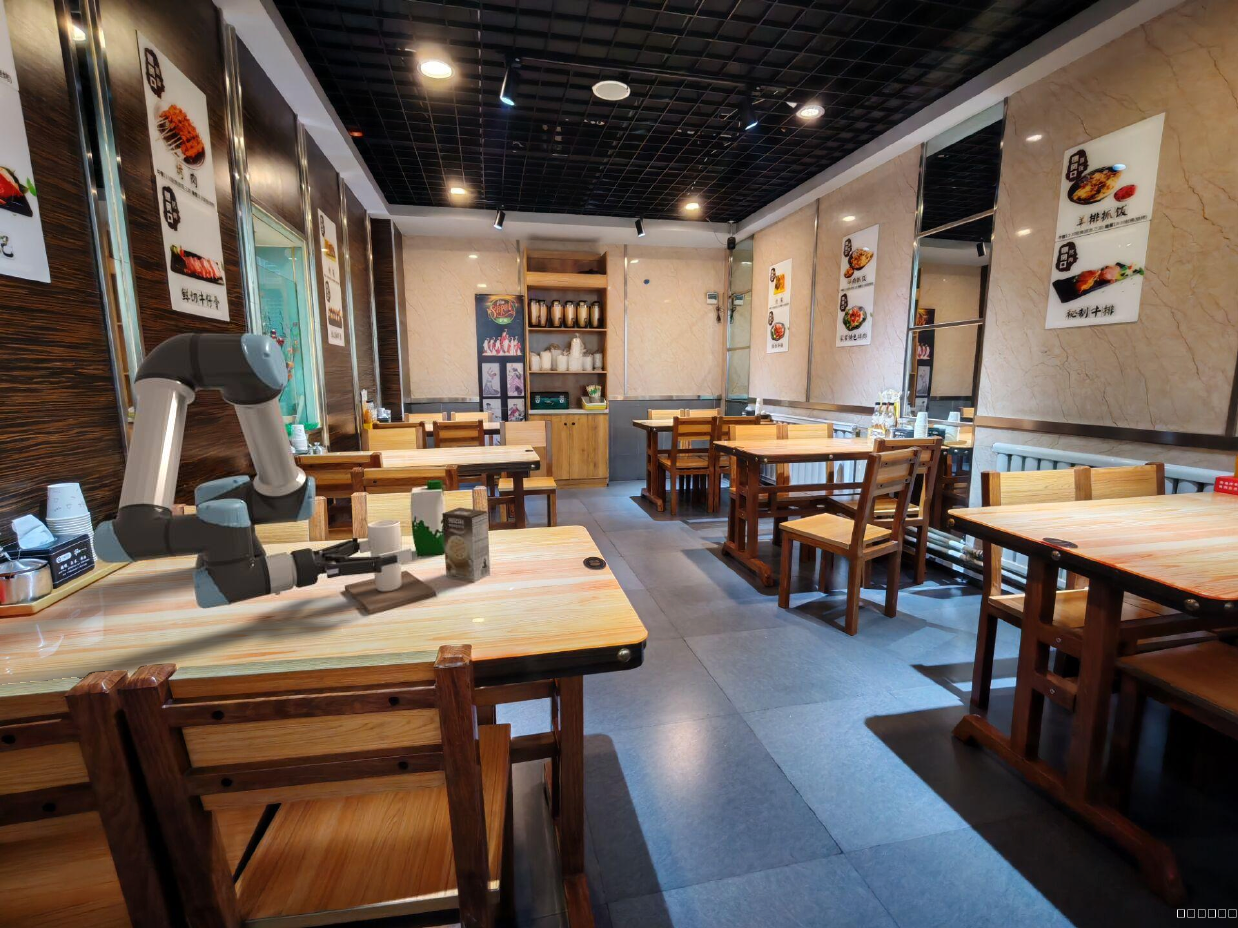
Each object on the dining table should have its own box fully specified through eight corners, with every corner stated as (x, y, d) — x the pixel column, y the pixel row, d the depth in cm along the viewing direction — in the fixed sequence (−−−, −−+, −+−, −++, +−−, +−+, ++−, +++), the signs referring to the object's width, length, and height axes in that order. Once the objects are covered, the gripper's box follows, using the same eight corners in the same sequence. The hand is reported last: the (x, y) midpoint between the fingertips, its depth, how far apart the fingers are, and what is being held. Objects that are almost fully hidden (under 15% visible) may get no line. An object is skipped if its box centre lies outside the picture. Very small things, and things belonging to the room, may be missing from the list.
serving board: (345, 590, 124) (344, 585, 123) (406, 575, 133) (406, 570, 132) (369, 614, 110) (369, 609, 110) (436, 595, 119) (436, 590, 119)
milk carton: (448, 554, 148) (443, 483, 145) (413, 558, 145) (407, 485, 142) (448, 545, 156) (443, 477, 153) (415, 549, 154) (409, 480, 151)
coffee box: (444, 577, 131) (440, 512, 128) (462, 569, 136) (458, 507, 134) (474, 582, 127) (470, 516, 124) (492, 573, 133) (488, 510, 130)
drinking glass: (393, 594, 117) (388, 527, 115) (366, 592, 119) (359, 526, 116) (411, 583, 124) (406, 519, 122) (385, 581, 125) (379, 518, 123)
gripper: (281, 572, 118) (382, 551, 132) (308, 606, 99) (422, 577, 113) (277, 539, 117) (379, 521, 130) (304, 567, 98) (419, 542, 112)
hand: (399, 547), depth 122 cm, fingers open, 13 cm apart
